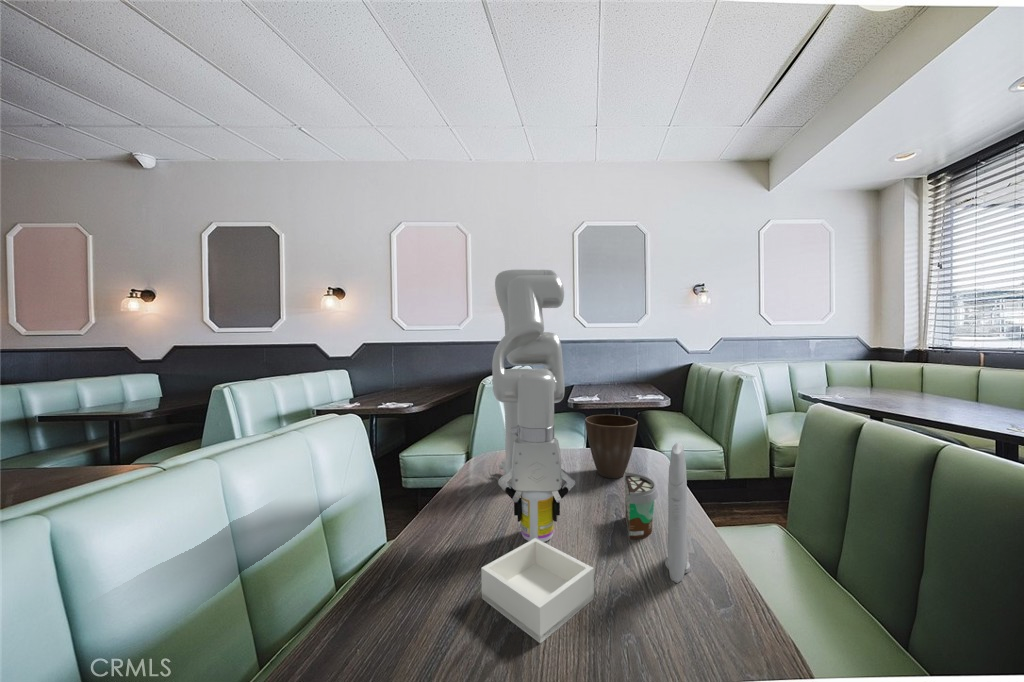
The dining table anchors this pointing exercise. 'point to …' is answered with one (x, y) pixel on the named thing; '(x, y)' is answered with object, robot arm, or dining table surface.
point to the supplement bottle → (537, 515)
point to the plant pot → (611, 443)
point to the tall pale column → (677, 516)
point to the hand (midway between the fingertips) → (536, 517)
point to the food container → (639, 504)
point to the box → (537, 587)
